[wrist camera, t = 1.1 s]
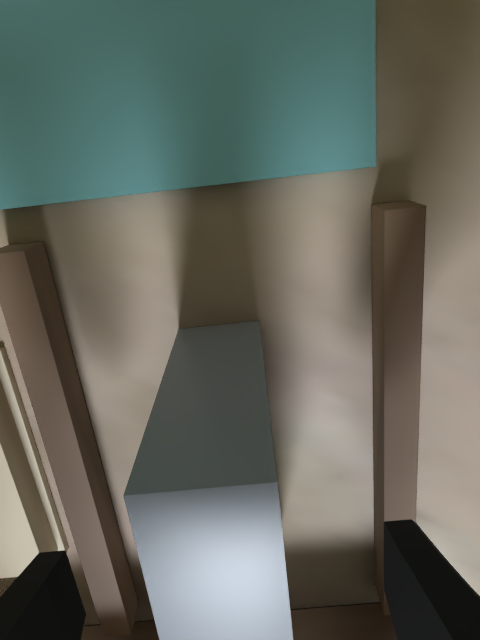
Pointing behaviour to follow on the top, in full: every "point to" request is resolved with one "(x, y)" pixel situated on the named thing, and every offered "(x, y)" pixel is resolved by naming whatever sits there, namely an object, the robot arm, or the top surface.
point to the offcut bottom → (31, 449)
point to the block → (211, 494)
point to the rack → (84, 461)
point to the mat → (180, 94)
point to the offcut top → (18, 502)
